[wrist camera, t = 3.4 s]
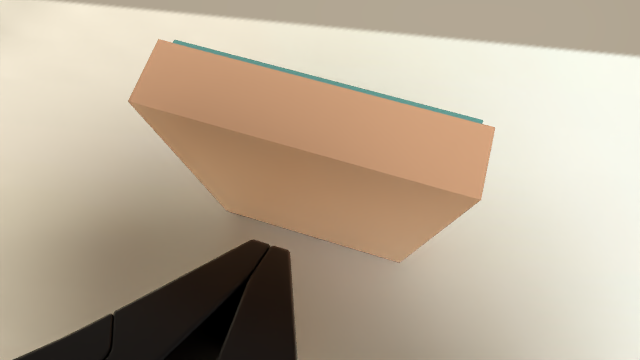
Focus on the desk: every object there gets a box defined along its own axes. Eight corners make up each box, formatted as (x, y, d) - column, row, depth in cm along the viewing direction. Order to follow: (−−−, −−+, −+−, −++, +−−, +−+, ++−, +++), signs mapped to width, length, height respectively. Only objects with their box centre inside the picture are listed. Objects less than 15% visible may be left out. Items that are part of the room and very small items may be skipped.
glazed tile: (399, 262, 16) (480, 200, 8) (226, 210, 17) (128, 101, 9) (409, 220, 17) (497, 118, 8) (241, 171, 18) (161, 31, 9)
